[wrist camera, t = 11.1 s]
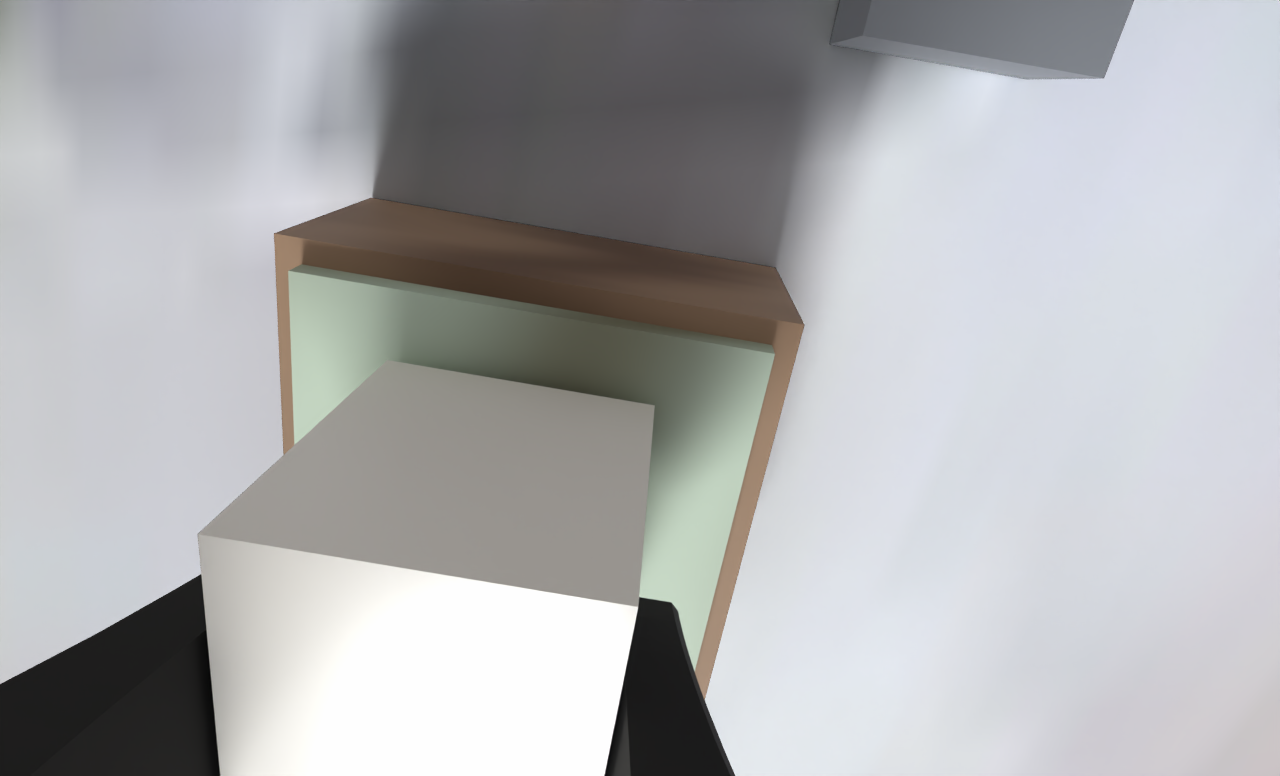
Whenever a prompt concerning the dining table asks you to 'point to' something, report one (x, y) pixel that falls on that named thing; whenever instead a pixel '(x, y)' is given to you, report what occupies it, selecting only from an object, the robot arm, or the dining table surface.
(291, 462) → the cream block
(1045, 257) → the dining table surface
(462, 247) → the walnut stand
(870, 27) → the slate notch board
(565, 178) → the dining table surface
